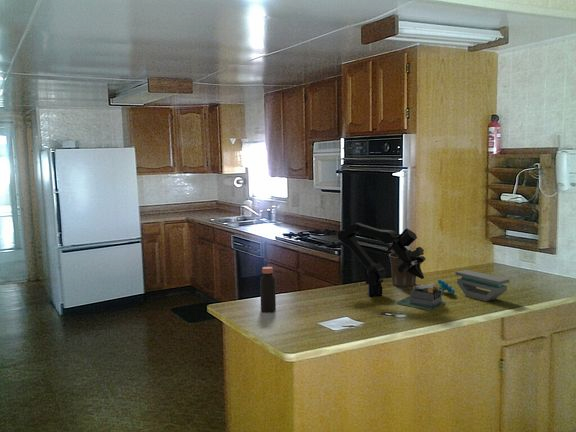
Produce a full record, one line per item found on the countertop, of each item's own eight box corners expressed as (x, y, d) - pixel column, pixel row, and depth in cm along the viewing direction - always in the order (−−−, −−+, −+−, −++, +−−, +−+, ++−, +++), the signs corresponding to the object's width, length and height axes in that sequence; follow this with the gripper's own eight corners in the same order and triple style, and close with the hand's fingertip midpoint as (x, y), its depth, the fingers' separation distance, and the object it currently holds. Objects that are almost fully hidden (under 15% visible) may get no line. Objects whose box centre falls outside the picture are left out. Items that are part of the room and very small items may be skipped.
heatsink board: (396, 303, 252) (396, 285, 251) (410, 297, 263) (410, 280, 262) (432, 310, 241) (432, 291, 239) (445, 303, 251) (445, 285, 250)
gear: (459, 292, 264) (445, 279, 262) (451, 301, 263) (437, 288, 262) (448, 290, 274) (435, 277, 273) (441, 299, 274) (427, 286, 272)
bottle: (258, 309, 246) (257, 266, 244) (272, 308, 248) (272, 265, 246) (263, 313, 240) (262, 269, 237) (277, 312, 242) (277, 268, 240)
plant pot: (425, 283, 289) (425, 254, 287) (410, 289, 277) (410, 259, 275) (398, 279, 300) (398, 251, 298) (383, 285, 288) (383, 255, 286)
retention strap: (414, 289, 251) (413, 287, 251) (417, 288, 254) (416, 285, 254) (433, 287, 245) (432, 284, 245) (435, 285, 247) (435, 283, 247)
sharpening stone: (508, 301, 253) (509, 279, 251) (498, 304, 248) (498, 281, 247) (465, 290, 274) (466, 269, 272) (455, 293, 269) (455, 271, 268)
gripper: (403, 244, 244) (425, 271, 238) (422, 239, 258) (443, 264, 252) (388, 259, 250) (409, 286, 244) (407, 253, 264) (427, 278, 258)
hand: (423, 278), depth 249 cm, fingers closed
